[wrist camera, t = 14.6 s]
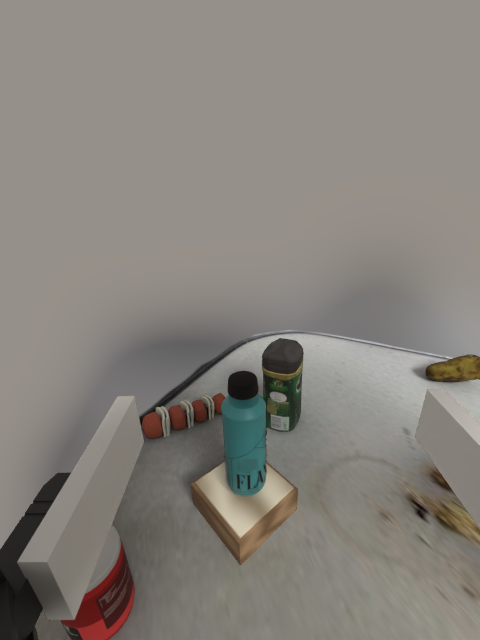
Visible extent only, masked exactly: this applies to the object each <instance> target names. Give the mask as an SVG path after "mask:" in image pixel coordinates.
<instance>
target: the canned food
mask: <svg viewBox="0 0 480 640" xmlns="http://www.w3.org/2000/svg"><path fill="white" fill-rule="evenodd" d="M134 592H135V588H134V583H133V579H132V576H131V572H130V569H129V565H128V562H127V559H126V555H125V552H124V548H123V545H122V542H121V539H120V536H119V534H118V532H117V530H116V528H115V527H114V526H113V525H111V528H110V530H109V533H108V536H107V538H106V541H105V543H104V546H103V548H102V551H101V553H100V556H99V558H98V561H97V564H96V566H95V569H94V571H93V574H92V576H91V579H90V581H89V584H88V587H87V589H86V592H85V594H84V597H83V599H82V602H81V604H80V607H79V610H78V612H77V615H76V617H75V620H61V622H62V624H63V626H64V627H65V629H66V631H67V633H68V635H69V637H70V638H71V639H72V640H108V639H110V638H111V637H112V636H113V635H115V634H116V633H117V632H118V630H119V629H120V628H121V627H122V626H123V624H124V623H125V621H126V620H127V618H128V616H129V614H130V611H131V608H132V605H133V600H134Z"/></svg>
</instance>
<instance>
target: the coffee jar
mask: <svg viewBox="0 0 480 640" xmlns="http://www.w3.org/2000/svg"><path fill="white" fill-rule="evenodd" d="M303 354H304V353H303V348H302V346H301V345H300V344H299V343H298V342H297V341H295V340H289V339H282V338H279V339H278V340H276V341H274V342H272V343H271V344H269V346H268V347H267V348H266V349H265V351H264V353H263V355H262V369H263V399H264V401H265V403H266V424H267V426H268V427H269V428H271V429H274V430H277V431H291V430H293V429H294V428H295V426H296V424H297V422H298V420H299V417H300V413H301V387H302V368H303Z"/></svg>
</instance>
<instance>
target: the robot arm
mask: <svg viewBox="0 0 480 640" xmlns="http://www.w3.org/2000/svg"><path fill="white" fill-rule="evenodd" d="M415 438H416V439H417V440H418V442H419V443H420V445H421V446H422V448H423V449H424V450H425V452H426V453H427V455H428V456H429V457H430V459H431V460H432V462H433V463H434V465H435V466H436V467H437V469H438V470H439V472H440V473H441V475H442V476H443V477H444V479H445V480H446V482H447V483H448V484H449V486H450V487H451V489H452V490H453V492H454V493H455V494H456V496H457V497H458V499H459V500H460V502H461V503H462V504H463V506H464V507H465V509H466V510H467V512H468V513H469V514H470V516H471V517H472V519H473V520H474V521H475V523H476V524H477V526H478V527H479V529H480V423H479V422H478V421H477V420H476V419H475V418H474V417H473V416H472V415H471V414H470V413H469V412H468V411H467V410H466V409H465V408H463V407H462V406H461V405H460V404H459V403H458V402H457V401H456V400H455V399H454V398H453V397H452V396H451V395H450V394H449V393H448V392H447V391H446V390H445V389H427V392H426V396H425V400H424V404H423V408H422V411H421V415H420V419H419V423H418V427H417V431H416V435H415ZM143 444H144V439H143V435H142V430H141V425H140V420H139V415H138V411H137V406H136V401H135V396H118V397H117V399H116V400H115V402H114V403H113V405H112V407H111V408H110V410H109V412H108V413H107V415H106V417H105V418H104V420H103V421H102V423H101V425H100V427H99V428H98V430H97V431H96V433H95V435H94V436H93V438H92V440H91V441H90V443H89V444H88V446H87V448H86V449H85V451H84V453H83V454H82V456H81V458H80V459H79V461H78V463H77V464H76V466H75V467H74V469H73V471H72V472H71V473H57V474H56V475H55V476H54V477H53V478H52V479H50V481H48V482H47V483H46V484H45V485H44V486H43V487H42V489H41V490H40V492H39V493H38V495H37V496H36V498H35V499H34V501H33V504H31V505H30V506H29V508H28V509H27V511H26V512H25V516H24V517H22V518H21V520H20V521H19V523H18V524H17V526H16V527H15V529H14V530H13V532H12V533H11V535H10V536H9V538H8V539H7V541H6V542H5V544H4V545H3V547H2V548H1V549H0V640H38V636H37V631H36V629H35V624H36V622H37V620H38V618H39V615H40V613H41V611H42V610H43V612H44V613H45V615H46V617H47V619H48V620H75V617H76V615H77V612H78V610H79V607H80V604H81V602H82V599H83V597H84V594H85V592H86V589H87V587H88V584H89V581H90V579H91V576H92V574H93V571H94V569H95V566H96V564H97V561H98V558H99V556H100V553H101V551H102V548H103V546H104V543H105V541H106V538H107V536H108V533H109V530H110V528H111V525H112V523H113V520H114V518H115V515H116V513H117V510H118V507H119V505H120V502H121V500H122V497H123V495H124V492H125V490H126V487H127V484H128V482H129V479H130V477H131V474H132V472H133V469H134V467H135V464H136V461H137V459H138V456H139V454H140V451H141V449H142V446H143Z"/></svg>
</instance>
